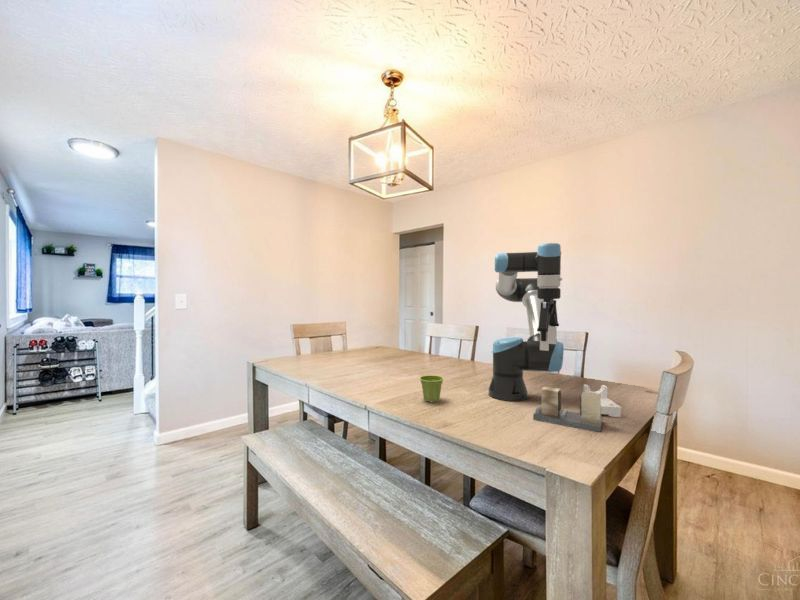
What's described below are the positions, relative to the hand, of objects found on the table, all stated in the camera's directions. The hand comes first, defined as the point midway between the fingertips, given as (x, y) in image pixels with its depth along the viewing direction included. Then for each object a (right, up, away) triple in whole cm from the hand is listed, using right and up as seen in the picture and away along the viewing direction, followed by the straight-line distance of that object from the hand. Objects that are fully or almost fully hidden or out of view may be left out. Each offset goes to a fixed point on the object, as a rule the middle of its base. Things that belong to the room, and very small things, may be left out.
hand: (548, 347), depth 121 cm
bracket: (+18, -23, -1) cm, 29 cm away
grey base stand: (+1, -22, -11) cm, 25 cm away
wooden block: (-3, -21, -8) cm, 23 cm away
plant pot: (-41, -23, +12) cm, 48 cm away
